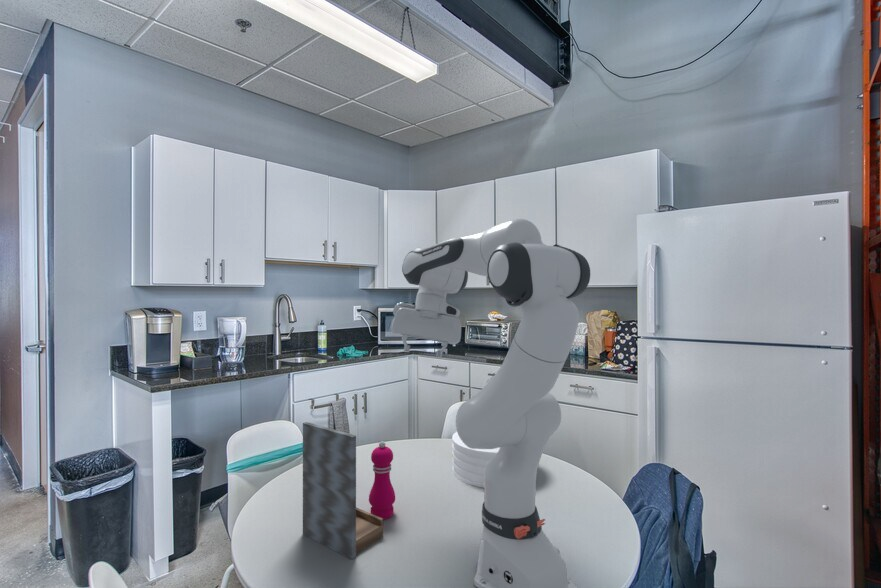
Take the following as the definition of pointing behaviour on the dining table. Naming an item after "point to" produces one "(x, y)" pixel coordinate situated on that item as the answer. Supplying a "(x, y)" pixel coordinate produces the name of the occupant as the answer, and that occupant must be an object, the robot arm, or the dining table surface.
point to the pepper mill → (382, 483)
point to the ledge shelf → (334, 493)
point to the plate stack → (470, 462)
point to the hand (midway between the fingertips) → (422, 354)
